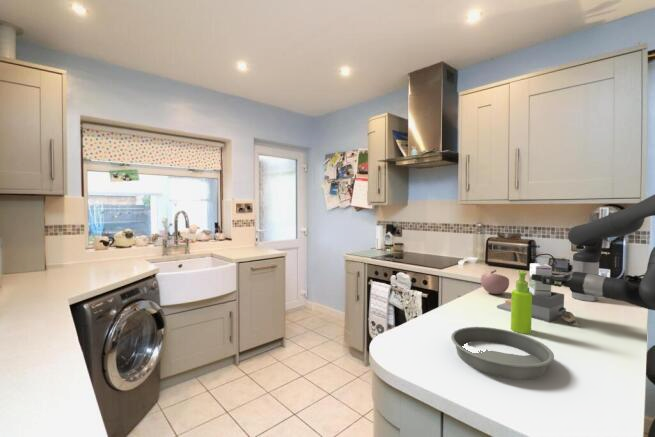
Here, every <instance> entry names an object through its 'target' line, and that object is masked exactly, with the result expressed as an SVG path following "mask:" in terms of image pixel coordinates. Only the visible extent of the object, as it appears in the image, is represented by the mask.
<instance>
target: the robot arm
mask: <svg viewBox="0 0 655 437" xmlns="http://www.w3.org/2000/svg"><path fill="white" fill-rule="evenodd" d="M648 217H655V194H653V195H651V196H648V197H647V198H645V199H643V200H641V201H639V202H637V203H635V204H633V205H630V206H628V207H626V208H625V207H624V208H623V209H620V210H617V211H614V212H612V213H610V214H607V215H604V216H603V217H599V218H597V219H594V220H593V221H590V222H587V223H582V224H579V225H575V226H573V227H572V228H571V229H569V231H568V234H567V240H568V241H569V243H571V244H572V245H573V246H574V245H575V246H576V247H577V246H578V247H584V248H582V250H580V251H578V252H575V253H573V255H572V273H571V274H570V273H563V272H552V275H550V276H542V275H536V274H532V280H535V281H540V282H542V284H547V285H551V286H553V287H559V288H560V287H561V288H562V287H566V286H568V288H569V290H570V292H571V297H572V298H573V299H577V300H579V301H585V302H586V301H587V302H597V301H599V298H601V299H602V298H604V299H609V300H615V301H620V302H626V303H628V304H630V305H634V306H637V307H639V308H643V309H646V310H650V311H655V246H654V247H653V248H652V250H651V251H650V254H649V257H648V261H647V266H646V271H645V273H644V274H643V276H642V278H641V279H640V280H641V281H640V282H639V285H637V284H634V283H632V282H631V281H628V280H626V279H623V278H617V277H611V276H604V275H601V274H600V273H599V272H600V258H601V256H602V251H603V242H604V241H603V240H604V239H608V238H616V237H618V238H619V237H622V236H626V235H629V234H634V233H635V232H637V231H639V230H640V229H641V228H642V226H643V224H644V222H645V219H646V218H648ZM546 279H549V281H546Z"/></svg>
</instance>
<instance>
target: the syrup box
mask: <svg viewBox="0 0 655 437" xmlns="http://www.w3.org/2000/svg"><path fill="white" fill-rule="evenodd" d="M552 271H553V267H552V266H551V265H549V264H546V263H541V262H535V263H529V281H528V288H529V292H531V293H532V294H533V295H538V296H543V297H550V296H551V292H552V285H547V284H542V282H540V281H535V280H532V274H536V275H542V276H550V275H552V273H553V272H552ZM546 281H549V279H546Z"/></svg>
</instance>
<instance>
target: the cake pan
mask: <svg viewBox="0 0 655 437" xmlns="http://www.w3.org/2000/svg"><path fill="white" fill-rule="evenodd" d="M450 338H451V341H452V343H453V344H454V345H455V349H456V354H457V355H458V357H459V358H460V360H461V361H463V363H465V364H467V365H468V366H470V367H471V368H473V369H476V370H477V369H478V370H477V371H480V372H483V373H485V374H487V375H492V376H495V377H499V376H500V377H499V378H503V377H504V379H512V380H532V379H537V378H540V377H541V376H543V375H544V374H545V372H546V369H547V366H548V365H550V364H551V363H552V362H553V361H554V358H555V354H554V353H553V351H552V349H551V348H549V347H548V346H547V345H546V344H544V343H542V342H541V341H539V340H537V339H535V338H532V337H530V336H528V335H526V334H522V333H517V332H514V331H512V330H506V329H501V328H495V327H490V326H489V327H487V326H468V327H463V328H459V329H457V330H454V331H453V332H452V333H451V336H450ZM469 342H472V343H489V344H490V343H492V344H499V345H501V346H502V345H503V346H506V347H507V346H508V347H510V348H514V349H517V350H520V351H522V352H524V353H526V355H521V354H520V355H519V354H514V353H506V352H501V351H495V350H491V349H490V350H491V351H488V350H489V349H486V351H485V352H483V351H481V350H480V352H479V351H478V352H479V353H472V352H470V351H468V350H466V349H465V348H463V347H462V346H464V344H466V343H468V344H470V343H469ZM481 352H482V353H481ZM527 354H528V355H527Z"/></svg>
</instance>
